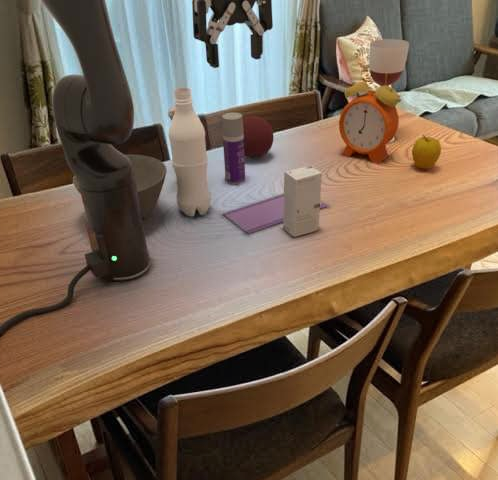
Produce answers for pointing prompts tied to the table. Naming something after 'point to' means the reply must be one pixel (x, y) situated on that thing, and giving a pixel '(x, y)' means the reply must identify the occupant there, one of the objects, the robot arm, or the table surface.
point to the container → (233, 148)
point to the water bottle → (189, 155)
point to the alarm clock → (369, 120)
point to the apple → (426, 152)
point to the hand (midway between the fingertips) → (235, 62)
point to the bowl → (145, 180)
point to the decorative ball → (256, 137)
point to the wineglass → (387, 60)
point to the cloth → (260, 214)
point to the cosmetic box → (302, 200)
